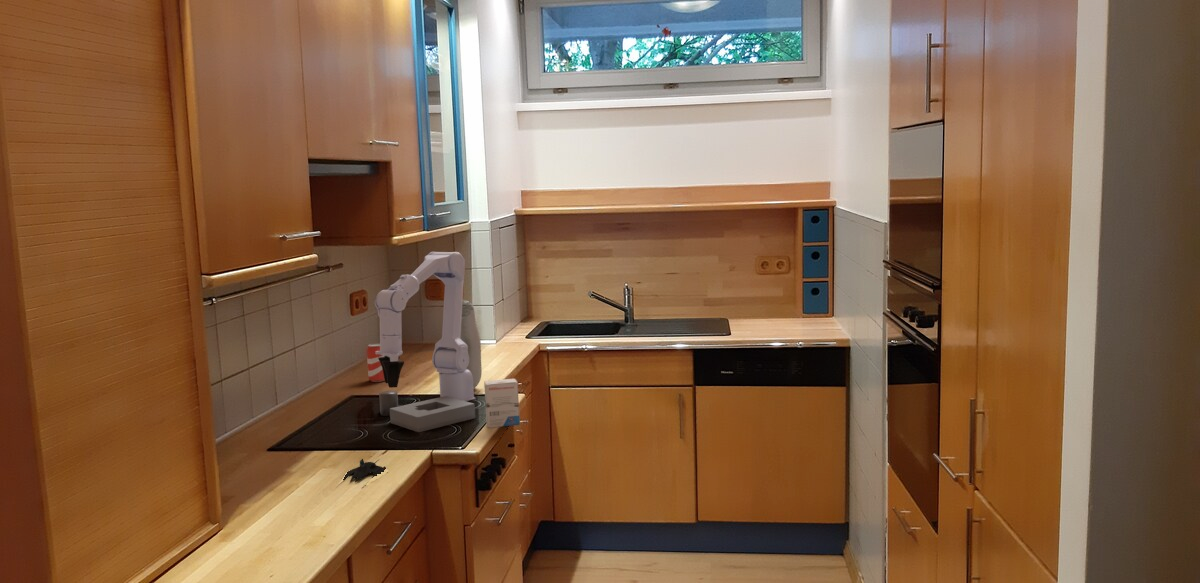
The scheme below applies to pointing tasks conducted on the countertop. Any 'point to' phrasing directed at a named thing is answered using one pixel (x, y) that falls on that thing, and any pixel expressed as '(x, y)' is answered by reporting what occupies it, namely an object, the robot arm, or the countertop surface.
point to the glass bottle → (471, 341)
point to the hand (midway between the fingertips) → (391, 385)
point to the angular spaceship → (365, 470)
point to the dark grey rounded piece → (387, 402)
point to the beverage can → (374, 363)
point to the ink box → (501, 403)
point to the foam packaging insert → (432, 413)
